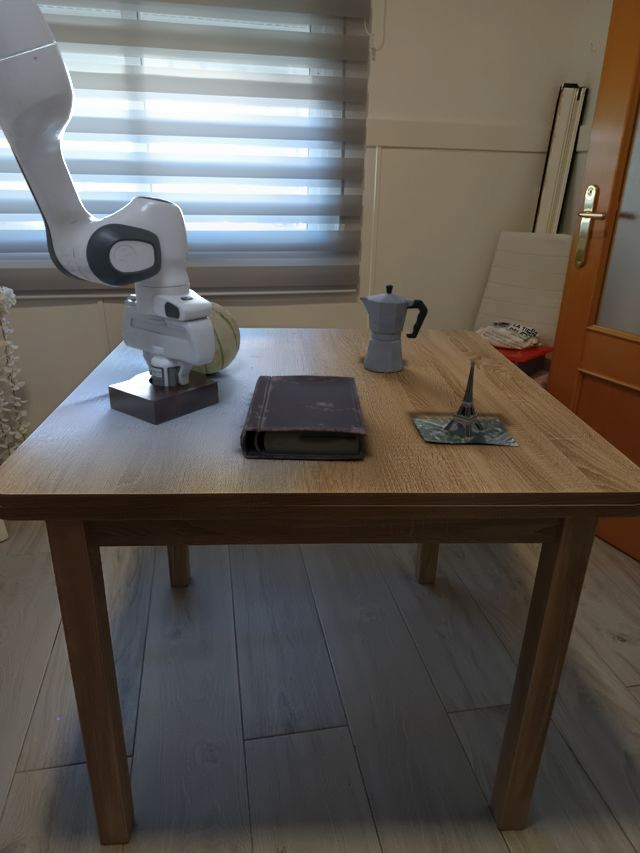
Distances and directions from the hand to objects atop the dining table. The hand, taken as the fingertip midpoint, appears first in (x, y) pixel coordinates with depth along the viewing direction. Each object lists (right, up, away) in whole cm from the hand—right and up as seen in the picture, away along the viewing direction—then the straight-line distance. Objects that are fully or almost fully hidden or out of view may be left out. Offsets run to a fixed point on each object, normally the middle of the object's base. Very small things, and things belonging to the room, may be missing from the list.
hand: (169, 379), depth 101 cm
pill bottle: (0, -4, +2) cm, 4 cm away
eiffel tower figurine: (+50, -10, -8) cm, 52 cm away
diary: (+24, -9, -8) cm, 27 cm away
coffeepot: (+42, +4, +25) cm, 49 cm away
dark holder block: (-1, -4, +1) cm, 4 cm away
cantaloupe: (+3, +3, +18) cm, 18 cm away
